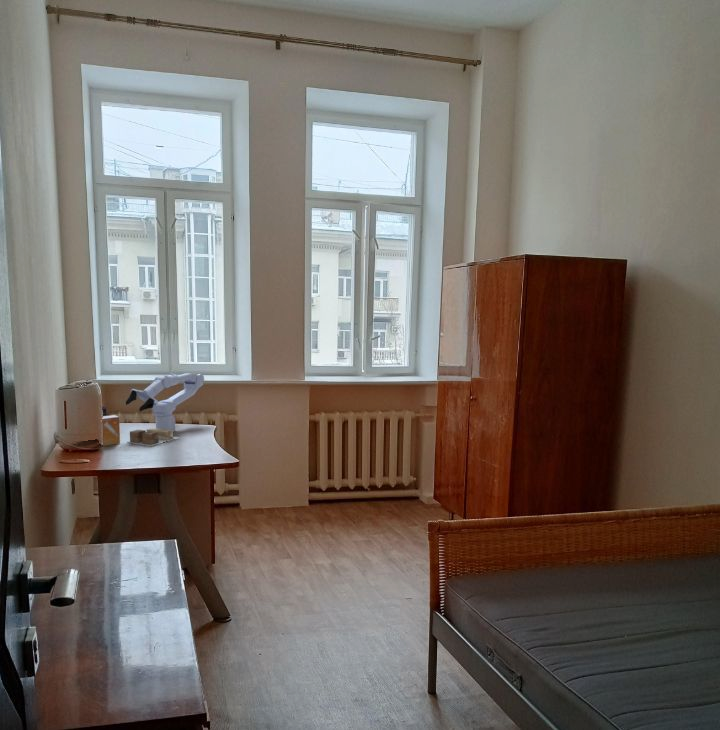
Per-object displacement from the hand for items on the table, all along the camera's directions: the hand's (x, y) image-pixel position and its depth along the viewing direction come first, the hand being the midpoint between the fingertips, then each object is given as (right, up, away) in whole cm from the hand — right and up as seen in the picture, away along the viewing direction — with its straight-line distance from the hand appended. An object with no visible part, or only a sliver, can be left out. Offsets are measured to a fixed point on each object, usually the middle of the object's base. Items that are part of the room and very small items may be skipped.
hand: (133, 406), depth 272 cm
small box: (-9, -18, -5) cm, 21 cm away
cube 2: (+10, -17, -5) cm, 20 cm away
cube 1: (+3, -17, -2) cm, 17 cm away
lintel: (+11, -16, +6) cm, 20 cm away
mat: (+9, -17, +2) cm, 19 cm away
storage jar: (-21, -16, +7) cm, 27 cm away
